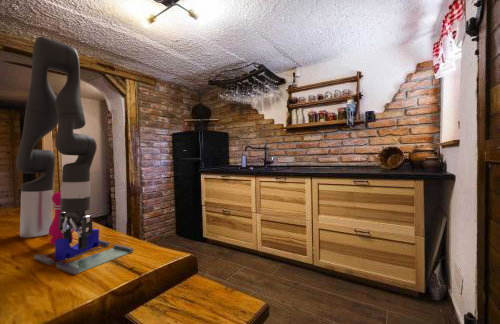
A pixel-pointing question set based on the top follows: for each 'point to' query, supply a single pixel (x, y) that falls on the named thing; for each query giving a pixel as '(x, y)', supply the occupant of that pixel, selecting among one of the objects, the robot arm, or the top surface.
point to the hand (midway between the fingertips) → (74, 246)
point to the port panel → (88, 258)
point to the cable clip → (74, 246)
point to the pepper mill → (56, 219)
